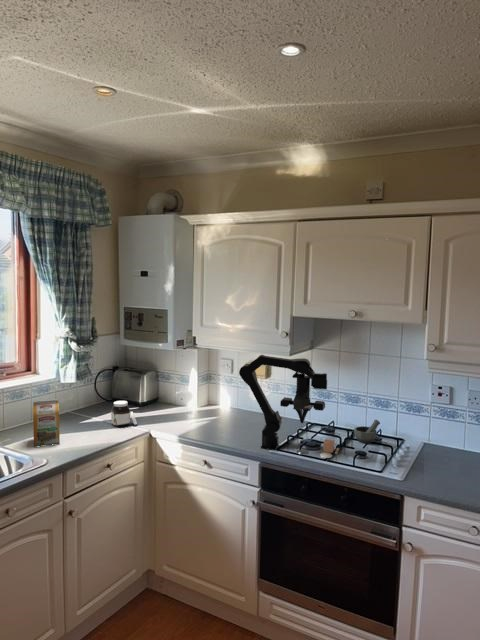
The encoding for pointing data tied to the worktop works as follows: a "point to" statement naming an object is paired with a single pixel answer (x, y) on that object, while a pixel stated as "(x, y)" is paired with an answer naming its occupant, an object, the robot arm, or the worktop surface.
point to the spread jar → (121, 414)
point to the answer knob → (328, 445)
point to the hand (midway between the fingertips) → (302, 423)
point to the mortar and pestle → (366, 432)
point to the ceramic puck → (326, 455)
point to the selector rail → (300, 444)
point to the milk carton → (46, 422)
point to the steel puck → (302, 452)
